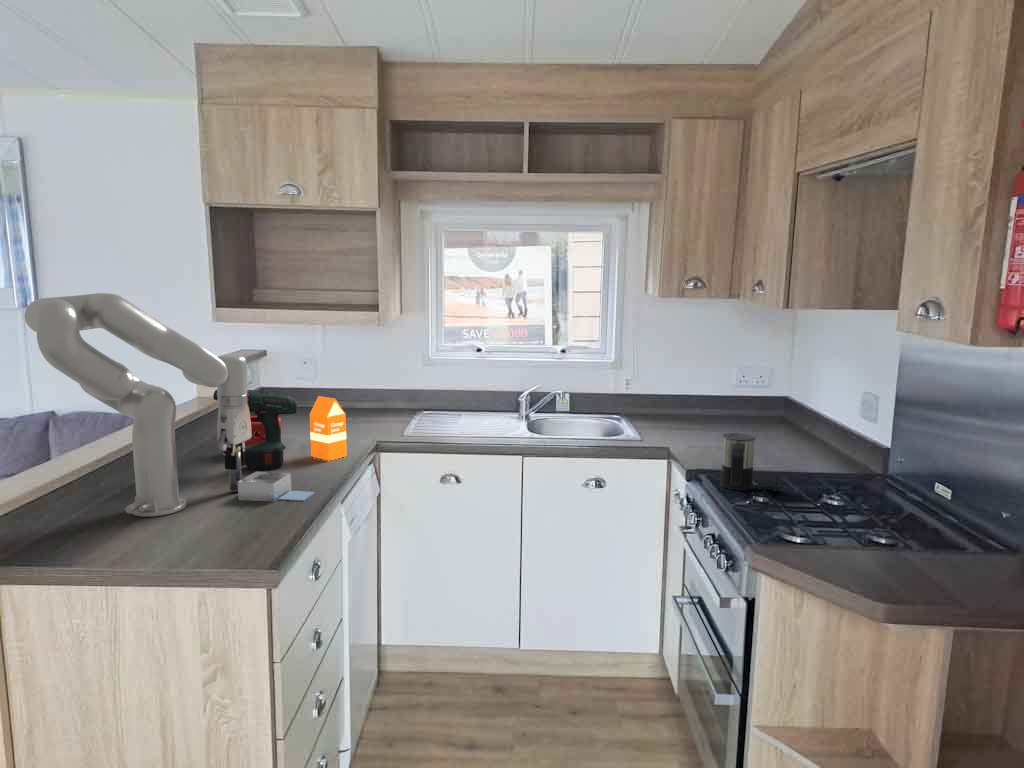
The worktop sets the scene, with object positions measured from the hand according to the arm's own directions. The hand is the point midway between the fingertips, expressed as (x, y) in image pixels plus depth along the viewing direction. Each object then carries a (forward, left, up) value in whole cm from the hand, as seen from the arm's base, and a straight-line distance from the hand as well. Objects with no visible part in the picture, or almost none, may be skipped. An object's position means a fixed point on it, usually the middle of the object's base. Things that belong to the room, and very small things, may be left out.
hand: (234, 466), depth 188 cm
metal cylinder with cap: (0, 0, -6) cm, 6 cm away
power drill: (+23, +6, -7) cm, 25 cm away
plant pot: (+40, +14, -7) cm, 43 cm away
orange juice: (+39, -10, -7) cm, 41 cm away
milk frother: (+25, -142, -7) cm, 144 cm away
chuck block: (-2, -9, -7) cm, 12 cm away
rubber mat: (-2, -18, -7) cm, 20 cm away
